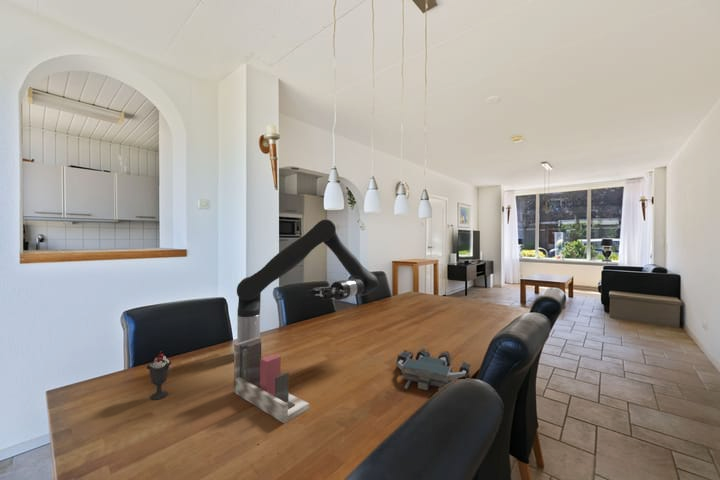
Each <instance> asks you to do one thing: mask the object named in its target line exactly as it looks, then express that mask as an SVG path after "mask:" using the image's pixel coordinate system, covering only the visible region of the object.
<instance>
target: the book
mask: <svg viewBox="0 0 720 480" xmlns="http://www.w3.org/2000/svg"><path fill="white" fill-rule="evenodd" d="M281 359H282V357H281V355H277V354H275V353H273V354H270V355H267V356H264V357H261V359H260V389H262V390H264V391H266V392H267V393H269V394H271V395H273V396H275V377H278V376H280V375H281V367H282V365H281V364H282V362H281Z"/></svg>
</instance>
